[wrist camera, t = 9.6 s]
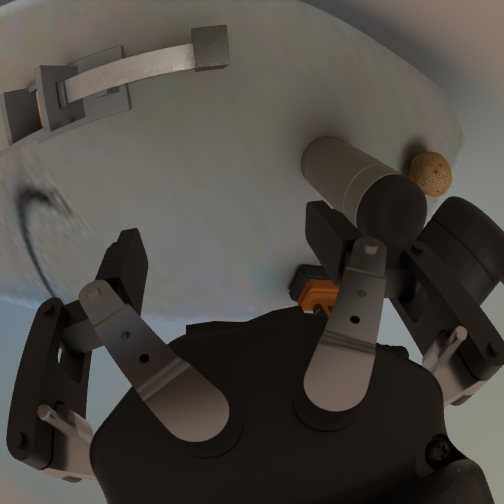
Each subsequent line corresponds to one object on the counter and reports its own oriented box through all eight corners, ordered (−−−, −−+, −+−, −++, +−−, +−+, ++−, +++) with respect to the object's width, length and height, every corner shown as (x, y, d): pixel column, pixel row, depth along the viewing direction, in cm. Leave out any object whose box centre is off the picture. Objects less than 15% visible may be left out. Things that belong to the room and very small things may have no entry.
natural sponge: (433, 150, 44) (466, 168, 36) (420, 187, 49) (451, 209, 41) (406, 138, 42) (443, 155, 34) (393, 179, 47) (426, 201, 39)
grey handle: (218, 38, 23) (226, 24, 17) (221, 69, 25) (230, 64, 19) (69, 76, 21) (39, 78, 15) (73, 105, 23) (45, 114, 17)
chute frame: (123, 46, 25) (93, 33, 15) (131, 108, 31) (105, 120, 21) (32, 84, 24) (-16, 94, 14) (42, 140, 29) (-1, 166, 20)
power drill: (369, 271, 60) (427, 351, 40) (355, 294, 64) (404, 374, 44) (291, 262, 53) (343, 369, 34) (278, 290, 57) (319, 394, 37)
